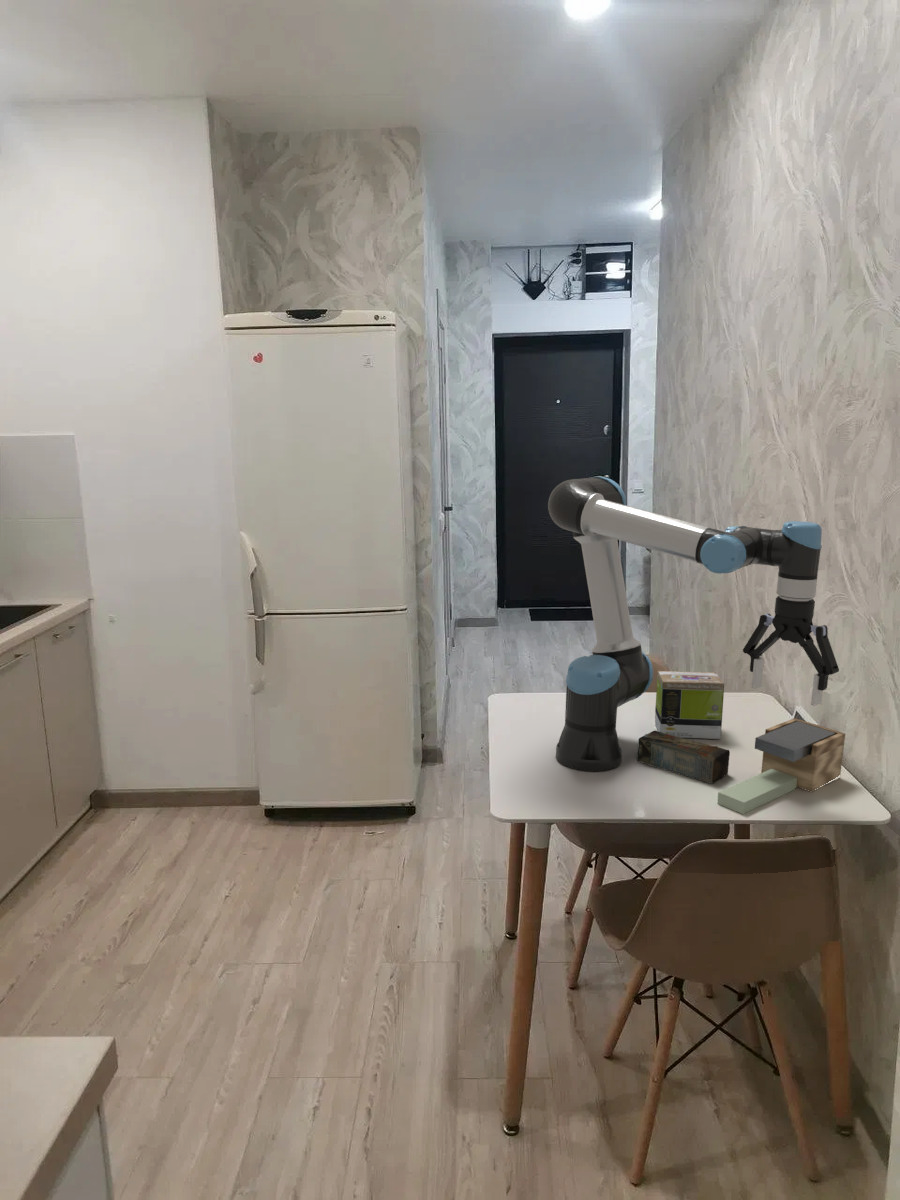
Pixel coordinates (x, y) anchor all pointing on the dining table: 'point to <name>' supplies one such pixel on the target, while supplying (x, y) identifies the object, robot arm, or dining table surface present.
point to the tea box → (689, 704)
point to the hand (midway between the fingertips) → (785, 695)
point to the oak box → (810, 760)
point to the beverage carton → (683, 756)
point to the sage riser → (757, 791)
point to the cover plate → (792, 740)
